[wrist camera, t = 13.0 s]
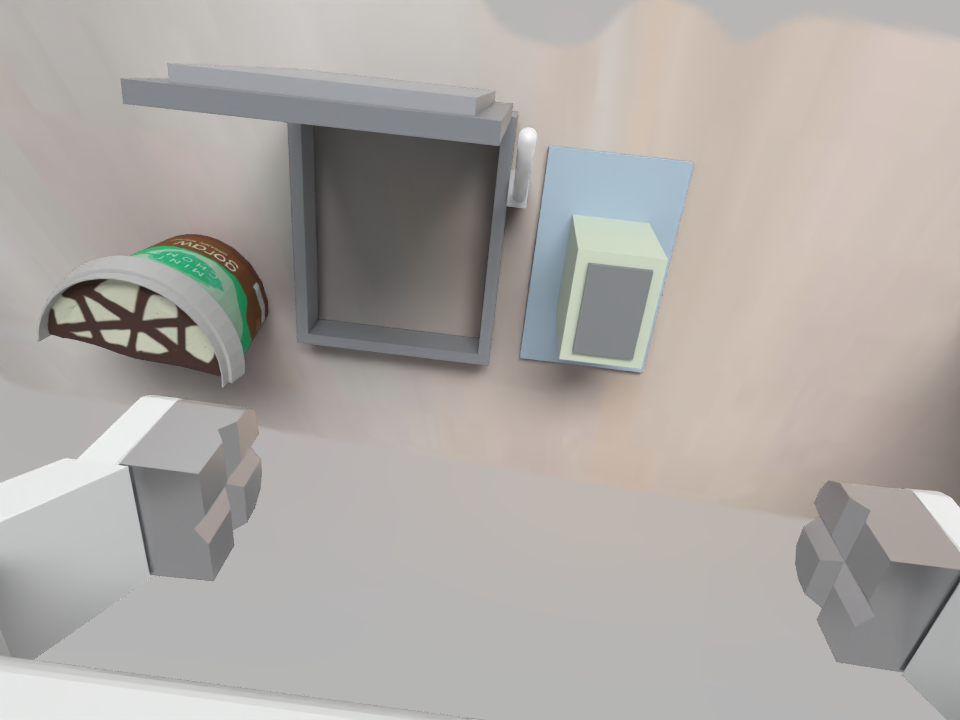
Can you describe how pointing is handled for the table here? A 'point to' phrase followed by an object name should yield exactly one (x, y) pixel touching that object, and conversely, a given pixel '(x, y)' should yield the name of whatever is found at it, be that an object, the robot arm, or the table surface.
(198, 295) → the food container
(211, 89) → the lid
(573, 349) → the module
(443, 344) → the case
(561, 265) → the mat
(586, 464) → the table surface
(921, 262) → the table surface
